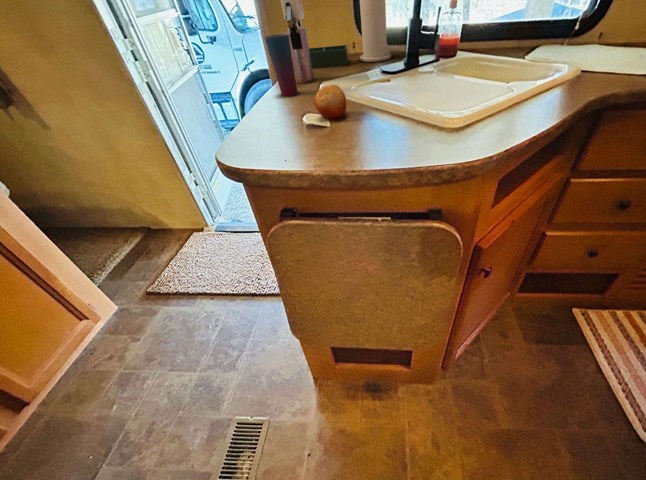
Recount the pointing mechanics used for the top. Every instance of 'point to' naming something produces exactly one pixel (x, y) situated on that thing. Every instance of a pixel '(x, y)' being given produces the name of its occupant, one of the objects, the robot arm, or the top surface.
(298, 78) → the beverage can
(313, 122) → the top surface
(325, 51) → the rack
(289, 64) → the cup
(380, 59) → the robot arm
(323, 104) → the fruit
